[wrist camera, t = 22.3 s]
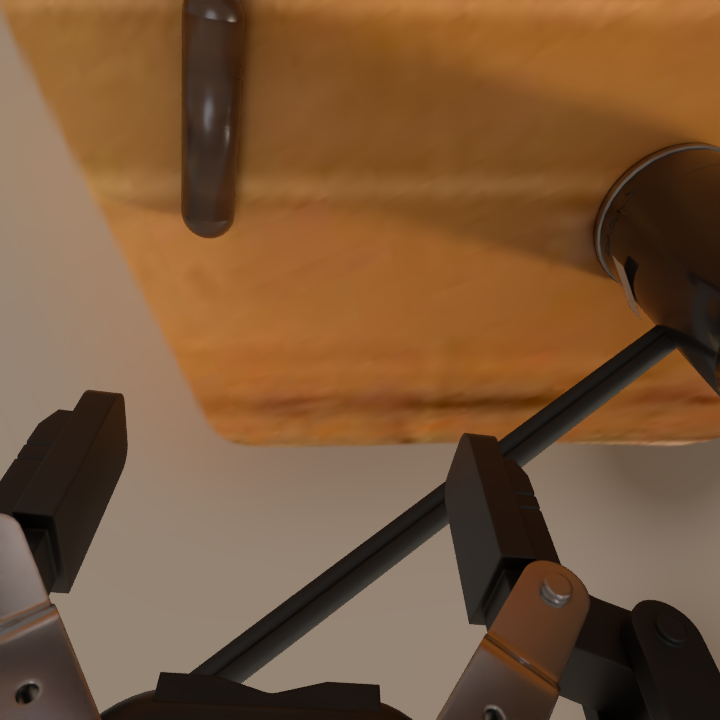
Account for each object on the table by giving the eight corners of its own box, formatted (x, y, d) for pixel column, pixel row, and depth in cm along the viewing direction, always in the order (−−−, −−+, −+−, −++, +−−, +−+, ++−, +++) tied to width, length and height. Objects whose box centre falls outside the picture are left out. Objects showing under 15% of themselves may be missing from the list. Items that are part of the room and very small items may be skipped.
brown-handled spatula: (239, 231, 36) (232, 250, 33) (184, 222, 36) (172, 241, 33) (265, -188, 25) (257, -205, 23) (186, -207, 25) (169, -226, 22)
